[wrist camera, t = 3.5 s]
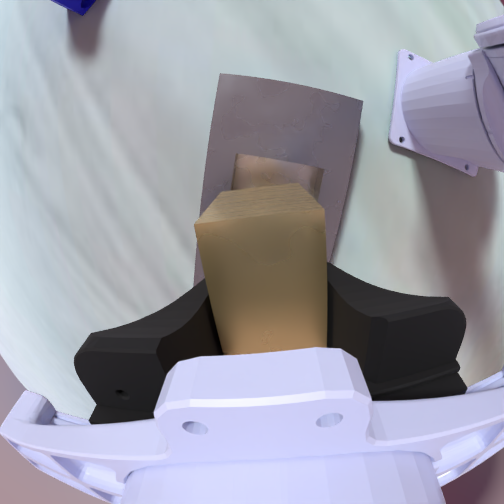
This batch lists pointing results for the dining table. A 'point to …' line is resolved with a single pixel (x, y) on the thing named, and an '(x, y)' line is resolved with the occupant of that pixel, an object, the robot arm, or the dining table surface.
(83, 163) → the dining table surface
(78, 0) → the cable clip
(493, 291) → the dining table surface
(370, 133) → the dining table surface
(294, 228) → the wooden toy block
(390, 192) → the dining table surface
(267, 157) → the gray rectangular plate
